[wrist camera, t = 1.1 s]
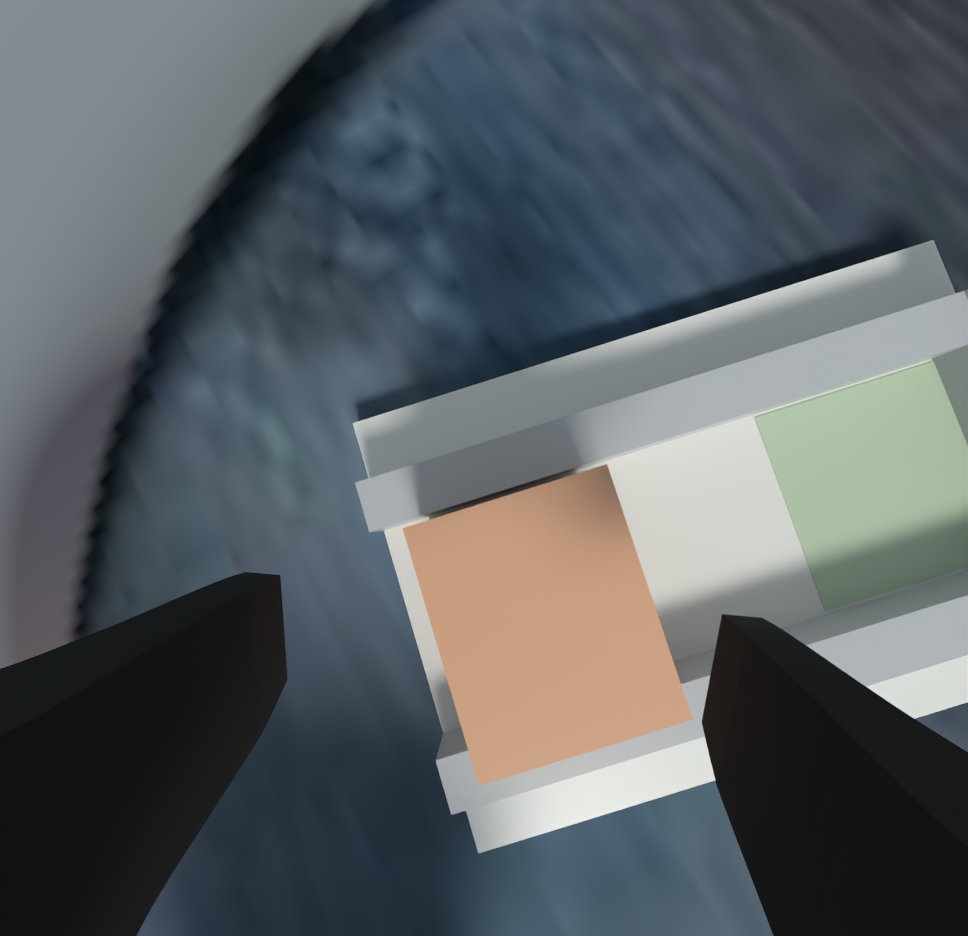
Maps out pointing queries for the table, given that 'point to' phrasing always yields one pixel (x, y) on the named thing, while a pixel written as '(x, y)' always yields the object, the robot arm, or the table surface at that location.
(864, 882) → the robot arm
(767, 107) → the table surface
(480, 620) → the block
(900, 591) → the chute
